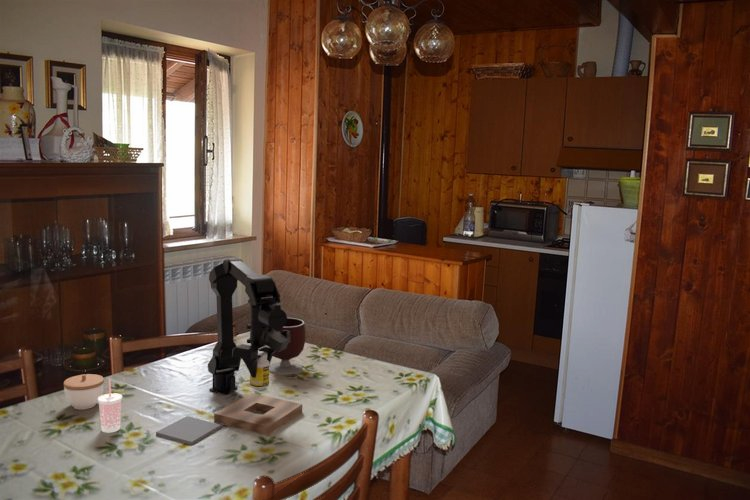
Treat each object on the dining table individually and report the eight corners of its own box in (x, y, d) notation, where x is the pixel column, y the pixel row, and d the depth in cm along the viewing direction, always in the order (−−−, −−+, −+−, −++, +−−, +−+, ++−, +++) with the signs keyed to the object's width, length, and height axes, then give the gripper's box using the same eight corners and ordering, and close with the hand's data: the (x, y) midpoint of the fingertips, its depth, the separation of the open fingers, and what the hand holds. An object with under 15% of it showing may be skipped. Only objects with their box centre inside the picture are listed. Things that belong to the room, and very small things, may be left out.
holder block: (214, 421, 176) (214, 413, 176) (251, 400, 192) (251, 392, 192) (267, 435, 169) (267, 426, 168) (302, 412, 185) (302, 404, 185)
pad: (156, 434, 167) (155, 432, 166) (186, 418, 177) (186, 416, 177) (191, 444, 162) (191, 441, 162) (221, 427, 173) (221, 424, 172)
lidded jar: (58, 404, 184) (57, 374, 182) (95, 395, 191) (94, 366, 190) (73, 415, 176) (72, 384, 175) (110, 406, 184) (110, 375, 183)
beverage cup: (128, 426, 171) (127, 377, 169) (111, 435, 165) (110, 384, 163) (110, 422, 173) (108, 374, 171) (93, 431, 167) (91, 381, 165)
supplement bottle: (265, 390, 176) (265, 357, 175) (246, 388, 177) (247, 355, 176) (271, 384, 181) (272, 351, 180) (254, 382, 182) (254, 349, 181)
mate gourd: (284, 360, 232) (285, 307, 229) (312, 368, 224) (314, 314, 221) (253, 370, 219) (254, 315, 216) (282, 379, 211) (283, 322, 208)
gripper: (265, 333, 165) (264, 390, 167) (302, 318, 182) (300, 369, 184) (231, 327, 169) (230, 382, 171) (269, 313, 186) (269, 363, 188)
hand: (259, 374), depth 179 cm, fingers closed on supplement bottle, 5 cm apart
